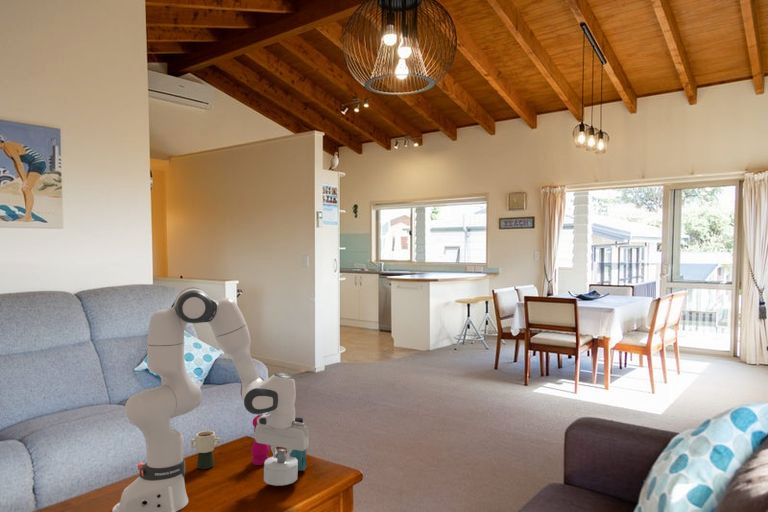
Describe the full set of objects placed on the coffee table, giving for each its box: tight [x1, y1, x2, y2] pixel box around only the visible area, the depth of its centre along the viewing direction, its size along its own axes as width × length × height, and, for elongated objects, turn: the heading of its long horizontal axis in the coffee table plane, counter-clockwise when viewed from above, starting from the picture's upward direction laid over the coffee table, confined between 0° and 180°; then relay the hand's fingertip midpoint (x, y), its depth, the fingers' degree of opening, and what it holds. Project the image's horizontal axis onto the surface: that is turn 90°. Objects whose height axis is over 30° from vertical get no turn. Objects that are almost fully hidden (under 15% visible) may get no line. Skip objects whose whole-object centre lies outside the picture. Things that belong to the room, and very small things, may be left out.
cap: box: [263, 448, 299, 487], centre depth 183 cm, size 12×12×10 cm
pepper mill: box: [250, 413, 271, 466], centre depth 205 cm, size 7×7×20 cm
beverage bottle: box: [290, 417, 308, 472], centre depth 196 cm, size 6×7×20 cm
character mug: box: [190, 430, 221, 470], centre depth 200 cm, size 11×7×13 cm, turn 100°
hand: (281, 458), depth 183 cm, fingers closed on cap, 3 cm apart
